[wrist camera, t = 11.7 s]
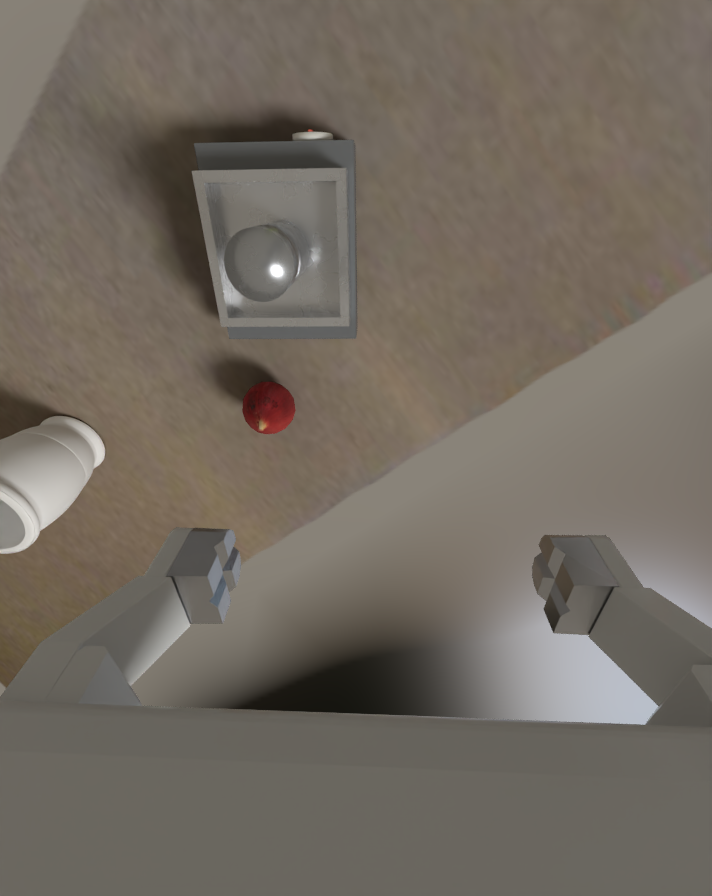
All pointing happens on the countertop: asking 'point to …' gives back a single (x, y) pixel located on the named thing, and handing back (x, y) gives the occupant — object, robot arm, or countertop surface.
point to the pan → (289, 200)
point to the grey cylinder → (266, 260)
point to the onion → (268, 407)
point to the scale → (292, 155)
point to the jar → (43, 476)
